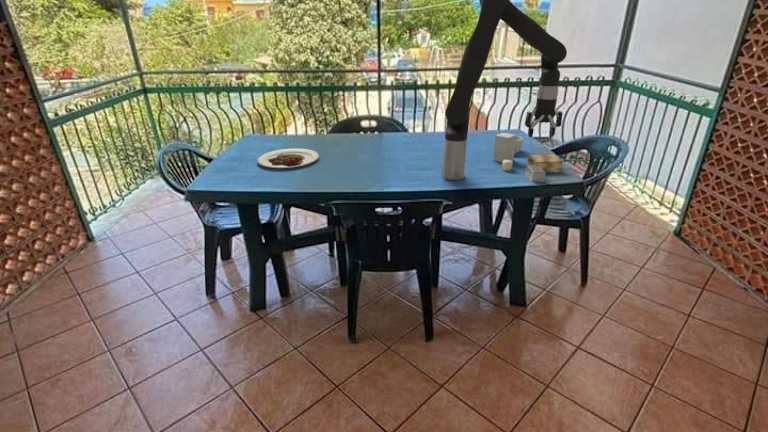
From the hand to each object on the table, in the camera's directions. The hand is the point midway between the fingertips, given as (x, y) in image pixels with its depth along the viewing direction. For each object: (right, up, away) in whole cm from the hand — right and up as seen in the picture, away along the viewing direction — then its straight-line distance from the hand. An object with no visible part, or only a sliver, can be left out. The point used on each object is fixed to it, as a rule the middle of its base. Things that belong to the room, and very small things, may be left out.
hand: (540, 136), depth 171 cm
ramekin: (-1, +1, +43) cm, 43 cm away
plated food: (-113, -6, +35) cm, 119 cm away
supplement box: (-7, -6, +30) cm, 31 cm away
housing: (0, -16, +8) cm, 18 cm away
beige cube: (-9, -12, +18) cm, 23 cm away
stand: (+8, -11, +18) cm, 23 cm away
